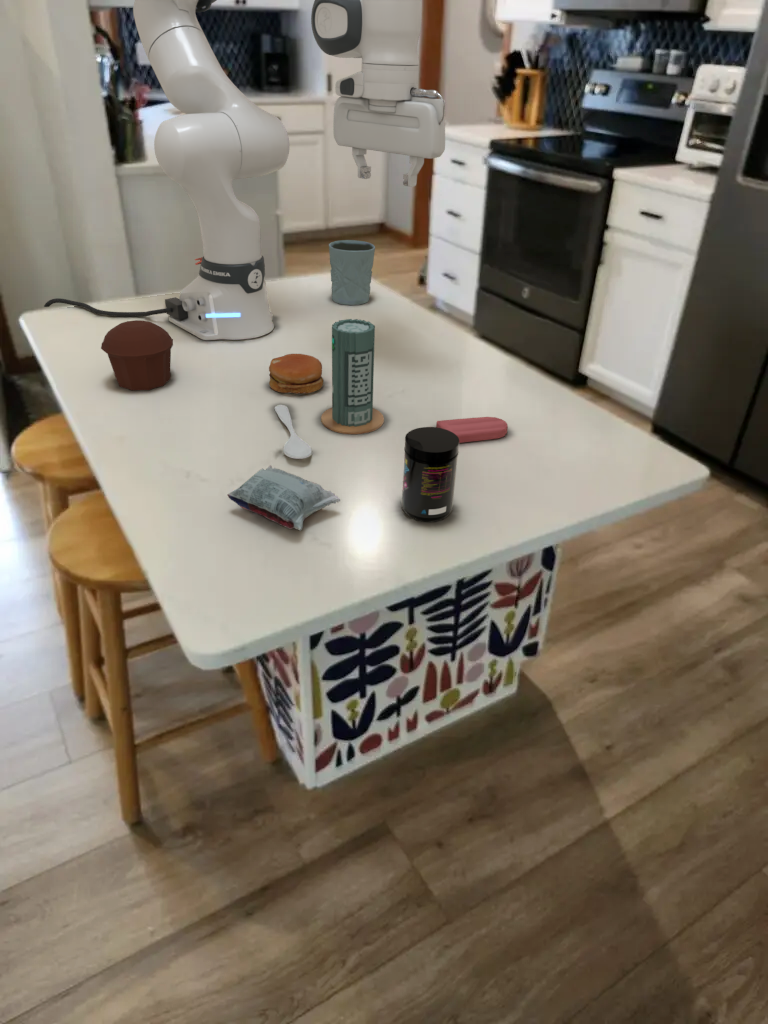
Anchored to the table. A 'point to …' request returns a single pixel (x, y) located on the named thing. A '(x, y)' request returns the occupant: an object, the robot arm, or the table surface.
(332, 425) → the cork coaster
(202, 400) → the table surface
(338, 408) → the can
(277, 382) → the burger
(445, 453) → the supplement container
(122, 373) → the muffin
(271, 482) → the packaged food
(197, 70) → the robot arm
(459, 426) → the popsicle
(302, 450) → the spoon
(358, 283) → the drinking glass
